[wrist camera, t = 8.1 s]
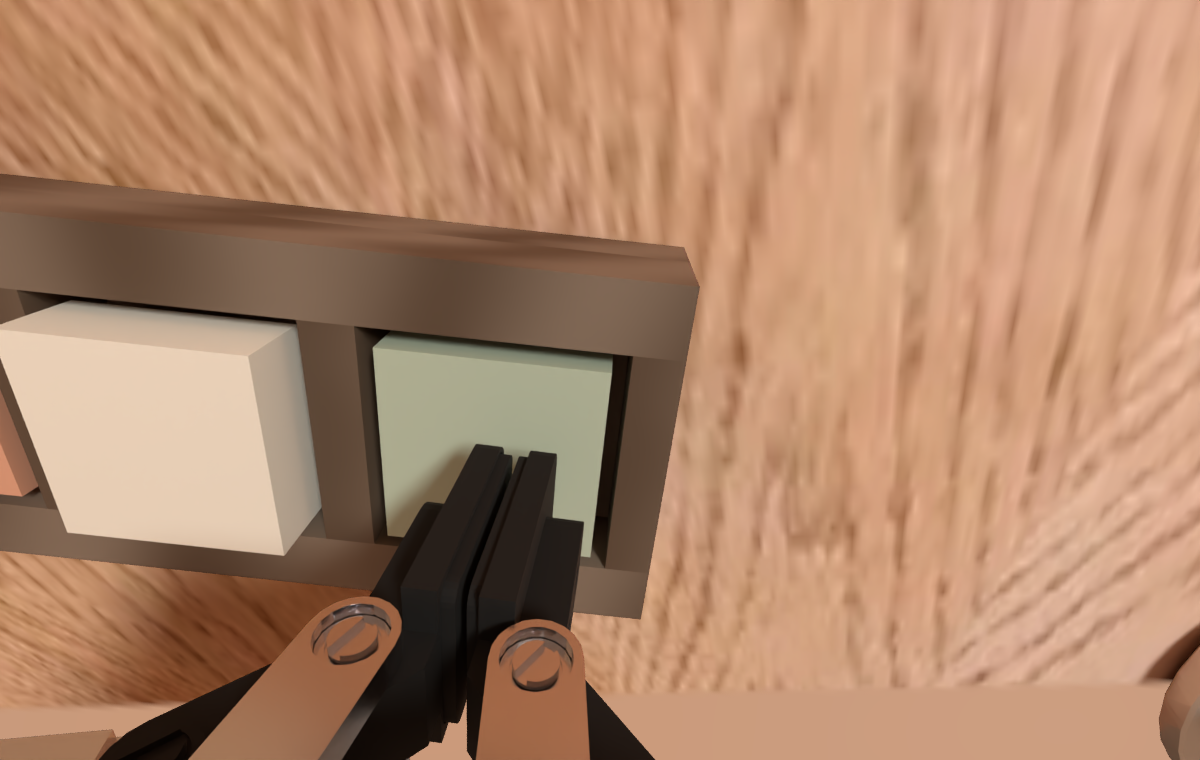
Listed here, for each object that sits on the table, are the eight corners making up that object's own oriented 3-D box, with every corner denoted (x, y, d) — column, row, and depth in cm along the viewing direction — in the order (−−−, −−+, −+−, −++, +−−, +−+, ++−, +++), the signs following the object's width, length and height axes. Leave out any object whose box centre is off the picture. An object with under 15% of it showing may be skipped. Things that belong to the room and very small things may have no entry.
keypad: (683, 247, 14) (699, 286, 11) (638, 530, 18) (640, 619, 15) (-194, 152, 14) (-428, 165, 11) (-53, 456, 18) (-196, 529, 15)
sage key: (613, 341, 14) (612, 373, 12) (594, 510, 16) (590, 557, 14) (403, 319, 14) (372, 347, 12) (412, 491, 16) (387, 535, 14)
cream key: (297, 324, 13) (248, 356, 11) (322, 506, 15) (284, 555, 13) (71, 300, 13) (-11, 328, 11) (129, 485, 15) (67, 532, 13)
